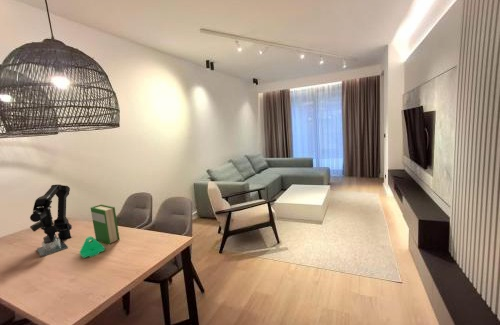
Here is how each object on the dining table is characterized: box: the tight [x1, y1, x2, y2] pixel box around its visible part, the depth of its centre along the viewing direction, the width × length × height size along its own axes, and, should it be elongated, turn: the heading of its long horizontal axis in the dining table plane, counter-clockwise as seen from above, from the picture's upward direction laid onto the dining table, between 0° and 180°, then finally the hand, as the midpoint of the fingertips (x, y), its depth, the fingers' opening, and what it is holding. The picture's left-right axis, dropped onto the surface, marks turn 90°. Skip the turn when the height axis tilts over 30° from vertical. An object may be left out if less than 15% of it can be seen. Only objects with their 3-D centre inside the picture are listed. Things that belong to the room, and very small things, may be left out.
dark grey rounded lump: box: [43, 233, 58, 243], centre depth 164 cm, size 7×7×6 cm
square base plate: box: [36, 237, 69, 258], centre depth 164 cm, size 14×16×6 cm
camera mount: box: [79, 236, 106, 258], centre depth 153 cm, size 12×8×10 cm, turn 135°
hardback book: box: [90, 204, 120, 245], centre depth 171 cm, size 18×7×24 cm, turn 57°
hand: (50, 238), depth 163 cm, fingers open, 9 cm apart
